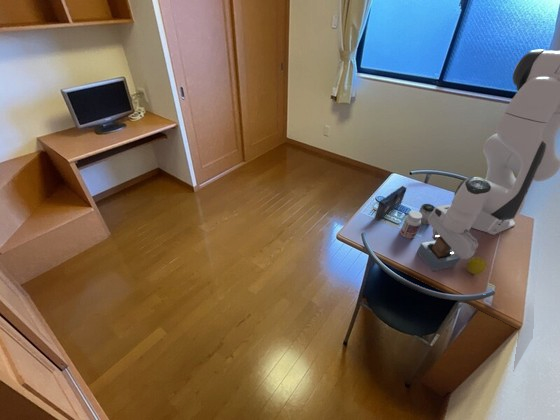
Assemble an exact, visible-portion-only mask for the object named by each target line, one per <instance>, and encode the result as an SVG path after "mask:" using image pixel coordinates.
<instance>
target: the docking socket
mask: <svg viewBox="0 0 560 420" xmlns="http://www.w3.org/2000/svg"><path fill="white" fill-rule="evenodd" d="M435 242H436V240H432V241H426V242H421V243H420V245H419V247H418V249H417V251H416V252H417V253H418V255H419V256H420V257H421V259H423V261H424V262H425V264H427V266H428V267H429V269H430V270H431V271H432V272H435V271H439V270H440V271H441V270H443V269H449V268H454V267H456V265H458V262H460V259H461V258H460V257H459V256H458V255H456V256H455V257H454V258H450V257H449V256H448V255H449V253H450V252H454V250H453V249H452V248H451V250H450V251H449V253H448V255H447V256H446V258H441V259H438V258H437V257H436V256H435V254H434V253H433V252H432V251H431V249H432V247H433V246H434V244H435Z"/></svg>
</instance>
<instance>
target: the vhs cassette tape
mask: <svg viewBox="0 0 560 420" xmlns="http://www.w3.org/2000/svg"><path fill="white" fill-rule="evenodd" d="M407 189H408V188H407V187H405V186H404V185H402V186H401V187H399V188H396V190H395V191H393V192H391V193H390V194H389V195H387V196H386V197H385V198H383V199H381V200H380V201H379V202H378V206H377V209H376V212H375V216H374V218H375V219H376V220H378V221H380V220H382V219H383V218H385V217H386V216H387V215H389V214H390V213H391V212H392V210H393V209H394V208H395V207H396V206H398V205H399V204H401V205H402V202H403V199H404V197H405V193H407ZM399 206H400V205H399ZM399 206H398V207H399ZM395 209H396V208H395ZM395 209H394V210H395ZM394 210H393V211H394ZM390 211H391V212H390ZM389 212H390V213H389ZM388 213H389V214H388ZM386 214H387V215H386ZM385 215H386V216H385ZM384 216H385V217H384Z"/></svg>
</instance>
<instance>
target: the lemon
mask: <svg viewBox="0 0 560 420" xmlns="http://www.w3.org/2000/svg"><path fill="white" fill-rule="evenodd" d="M486 268H487V262H486V261H485V260H484V259H483V258H482V257H477V256H476V257H475V256H474V257H471V258H470V259H469V261H468V262H467V264H466V269H467V270H468V271H467V272H469V273H470V274H472V275H481V274H482V273H484V272H485V270H486Z"/></svg>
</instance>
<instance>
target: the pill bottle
mask: <svg viewBox="0 0 560 420" xmlns="http://www.w3.org/2000/svg"><path fill="white" fill-rule="evenodd" d="M421 218H422V214H421V213H420V212H419V211H418V210H415V209H414V210H413V209H412V210H410V211H409V212H408V214H407V216H406V217H405V218H404V221H403V223H402V226H401V229H400V234H401V235H402V236H403V237H405V238H407V239H412V238H415V237H416V235H417V234H418V230H419V228H420V226H421V225H422V223H421Z"/></svg>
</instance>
